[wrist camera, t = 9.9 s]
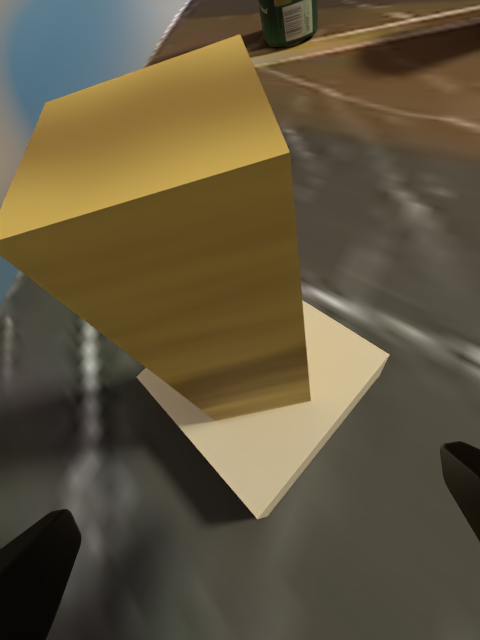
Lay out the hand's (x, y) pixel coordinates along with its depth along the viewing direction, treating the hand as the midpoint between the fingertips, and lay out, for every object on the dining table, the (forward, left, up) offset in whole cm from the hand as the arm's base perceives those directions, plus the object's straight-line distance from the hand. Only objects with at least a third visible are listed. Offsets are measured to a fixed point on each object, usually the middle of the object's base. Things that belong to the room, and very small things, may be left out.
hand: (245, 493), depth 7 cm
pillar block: (+4, +5, -7) cm, 10 cm away
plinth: (+4, +5, -10) cm, 12 cm away
